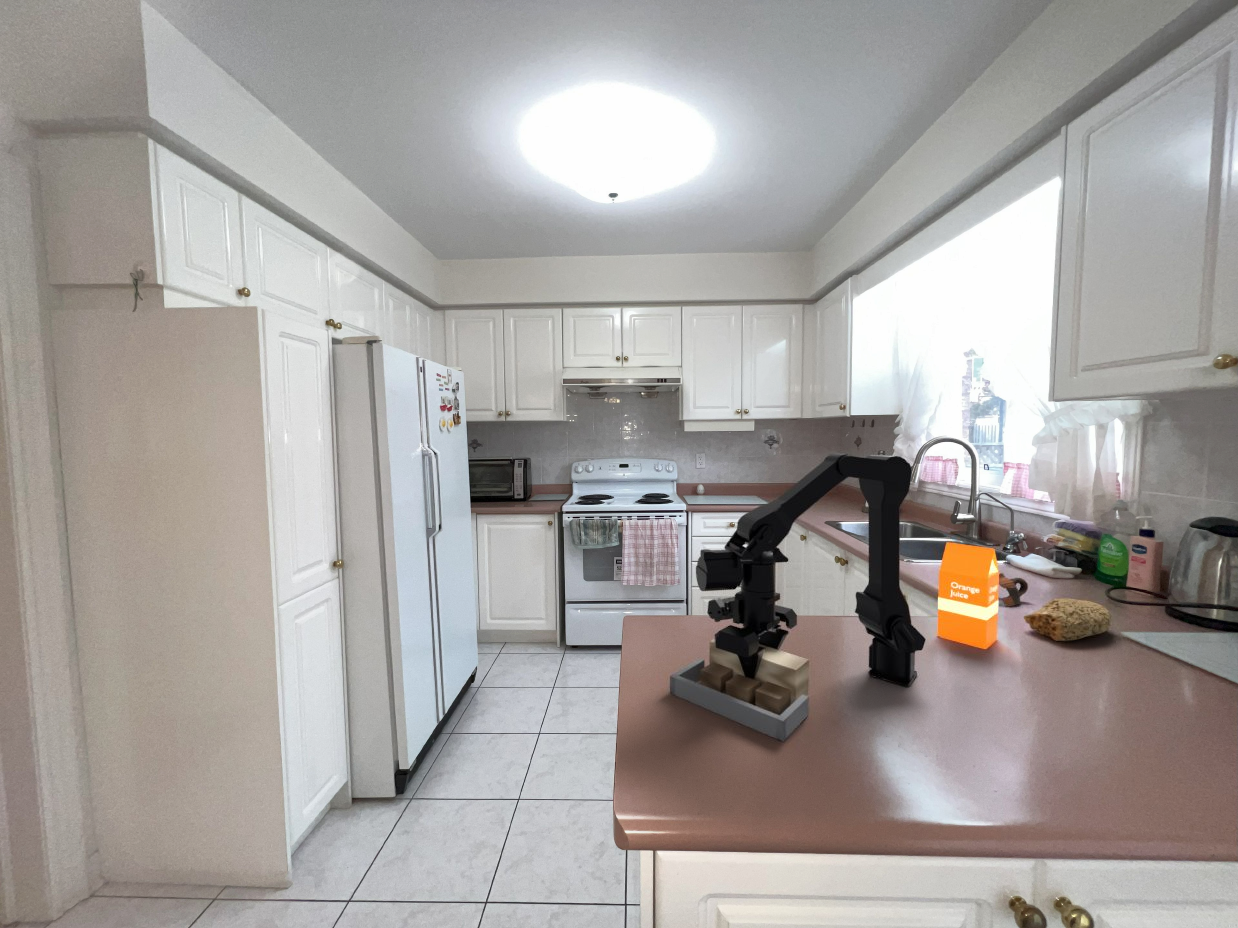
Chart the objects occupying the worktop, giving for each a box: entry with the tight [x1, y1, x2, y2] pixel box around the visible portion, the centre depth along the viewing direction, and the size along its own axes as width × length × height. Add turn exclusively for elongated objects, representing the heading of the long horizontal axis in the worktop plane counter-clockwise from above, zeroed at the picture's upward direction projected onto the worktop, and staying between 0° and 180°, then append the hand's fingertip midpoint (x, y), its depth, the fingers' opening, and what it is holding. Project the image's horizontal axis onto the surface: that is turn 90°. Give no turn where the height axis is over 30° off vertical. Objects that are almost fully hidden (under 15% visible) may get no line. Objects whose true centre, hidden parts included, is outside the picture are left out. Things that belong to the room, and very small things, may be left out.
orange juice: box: [937, 541, 1000, 650], centre depth 106 cm, size 8×9×20 cm
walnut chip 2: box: [754, 681, 791, 716], centre depth 79 cm, size 4×4×3 cm
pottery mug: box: [999, 572, 1029, 607], centre depth 130 cm, size 12×10×8 cm
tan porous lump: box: [1023, 597, 1112, 642], centre depth 109 cm, size 13×8×20 cm
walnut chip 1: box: [699, 662, 733, 694], centre depth 86 cm, size 4×4×3 cm
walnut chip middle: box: [725, 674, 760, 705], centre depth 82 cm, size 4×4×3 cm
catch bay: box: [669, 658, 810, 742], centre depth 80 cm, size 20×9×3 cm, turn 47°
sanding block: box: [708, 638, 810, 706], centre depth 86 cm, size 16×5×6 cm, turn 47°
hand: (757, 676), depth 86 cm, fingers closed on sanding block, 5 cm apart
